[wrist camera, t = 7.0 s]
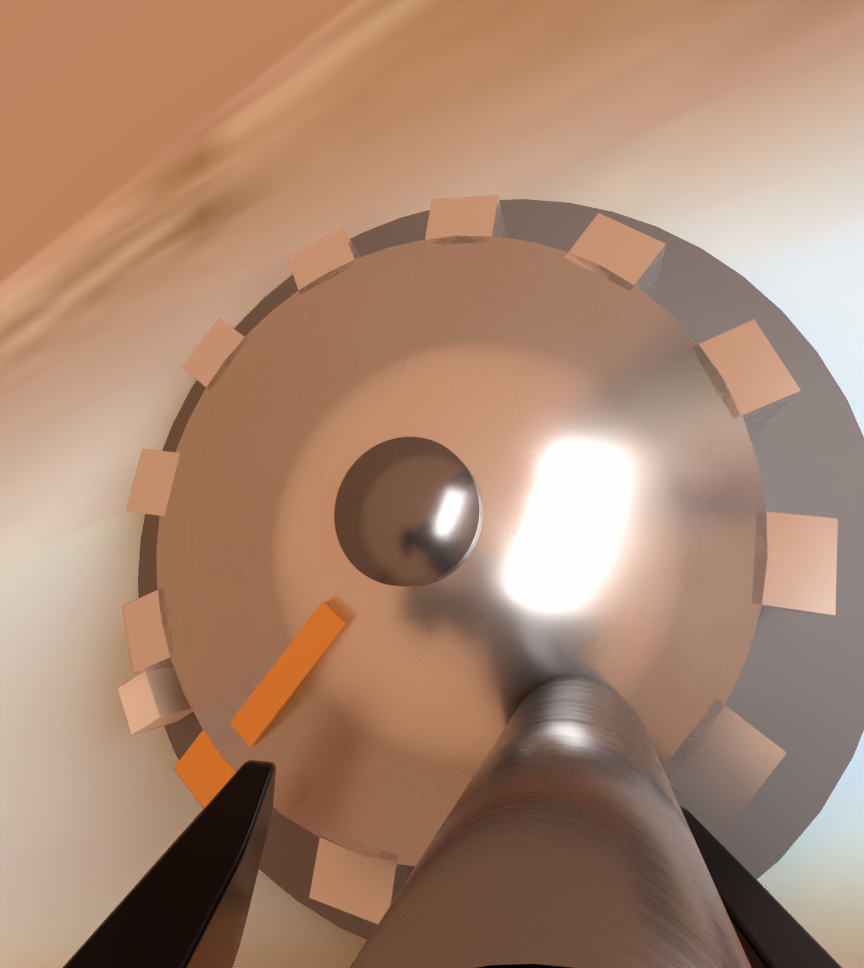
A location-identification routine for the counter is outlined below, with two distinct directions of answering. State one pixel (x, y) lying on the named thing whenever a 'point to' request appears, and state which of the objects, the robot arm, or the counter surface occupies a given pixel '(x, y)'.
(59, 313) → the counter surface
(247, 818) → the robot arm
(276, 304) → the stand
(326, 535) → the sprocket
